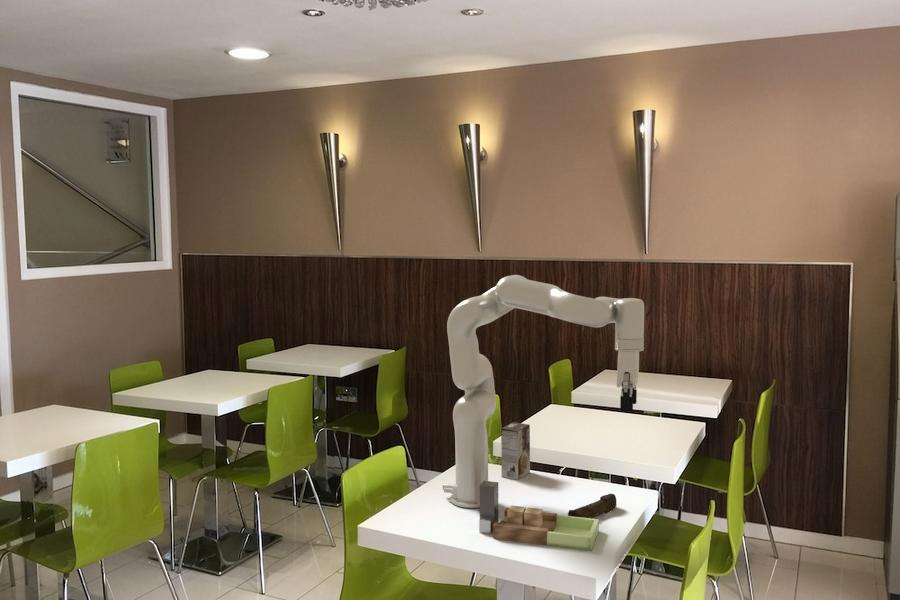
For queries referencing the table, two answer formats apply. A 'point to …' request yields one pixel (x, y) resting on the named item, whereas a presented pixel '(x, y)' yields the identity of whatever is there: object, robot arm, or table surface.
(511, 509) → the light brown cube
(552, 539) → the tray
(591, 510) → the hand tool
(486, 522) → the cube with crossbar
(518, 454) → the coffee box
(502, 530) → the slot board
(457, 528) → the table surface
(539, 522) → the light brown wooden block
